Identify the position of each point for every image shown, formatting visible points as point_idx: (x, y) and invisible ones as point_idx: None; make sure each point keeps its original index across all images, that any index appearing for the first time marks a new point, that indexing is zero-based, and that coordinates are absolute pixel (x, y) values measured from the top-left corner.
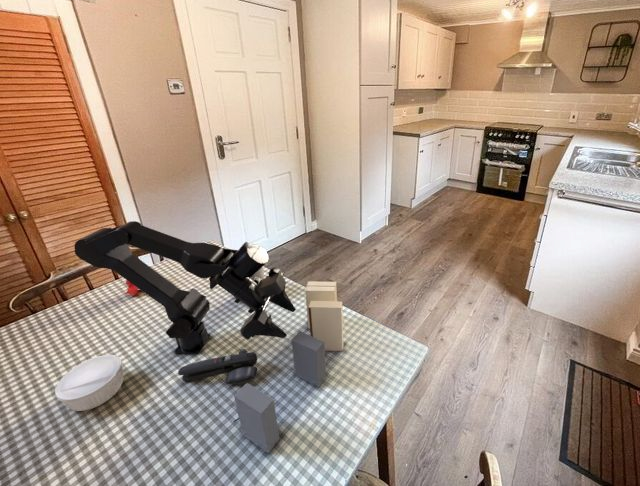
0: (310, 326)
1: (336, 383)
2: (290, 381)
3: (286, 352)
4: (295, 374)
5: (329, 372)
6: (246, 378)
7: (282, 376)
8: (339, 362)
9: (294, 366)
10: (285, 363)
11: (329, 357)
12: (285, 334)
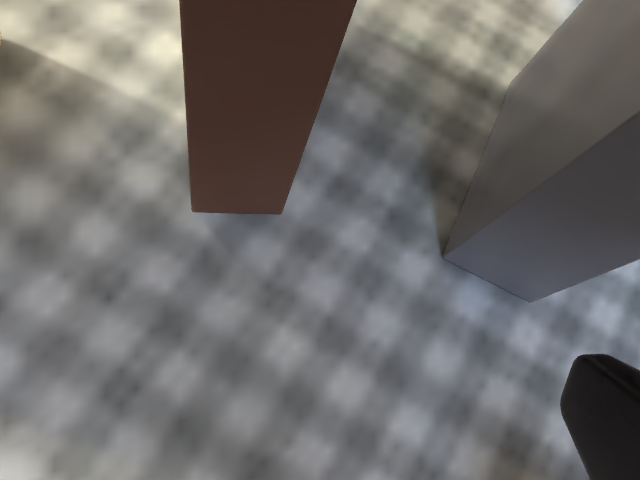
0: (341, 37)
1: (536, 23)
2: (586, 325)
3: (318, 455)
4: (534, 298)
5: (467, 67)
6: None
7: None
8: (377, 7)
9: (586, 279)
10: (440, 421)
11: (340, 74)
12: (622, 367)
